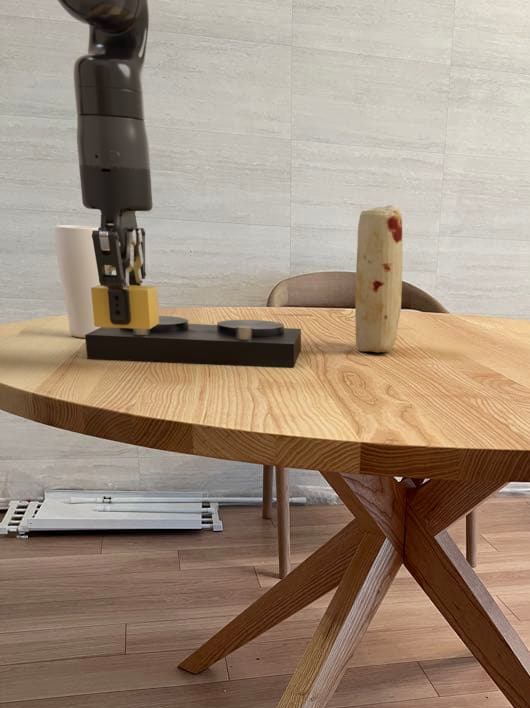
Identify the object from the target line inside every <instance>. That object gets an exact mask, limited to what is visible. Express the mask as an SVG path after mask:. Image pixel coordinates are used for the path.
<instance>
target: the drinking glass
mask: <svg viewBox="0 0 530 708" xmlns="http://www.w3.org/2000/svg"><path fill="white" fill-rule="evenodd" d="M99 227H100V226H92V225H69V224H68V225H67V224H65V225H63V224H61V225H60V224H59V225H55V226H54V241H55V249H56V251H55V252H56V258H57V264H58V269H59V274H60V275H59V276H60V280H61V285H62V291H63V296H64V302H65V307H66V308H65V309H66V313H67V319H68V328H69V333H70V335H71V336H72V337H75V338H80V339H86V338H85V335H86V334H88V333H90V332H92V331H94V330H96V329H99V328H101V327H95V326H94V315H93V305H92V294H91V288H92V287H95V286H98V285H100V282H99V275H98V269H97V263H96V257H95V251H94V245H93V239H92V232H93V230H94V231H98V228H99Z"/></svg>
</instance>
